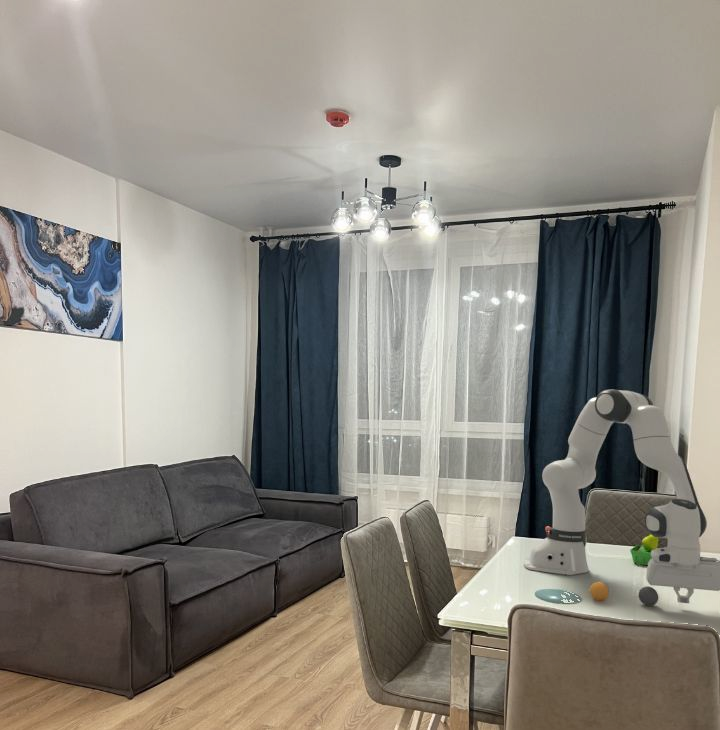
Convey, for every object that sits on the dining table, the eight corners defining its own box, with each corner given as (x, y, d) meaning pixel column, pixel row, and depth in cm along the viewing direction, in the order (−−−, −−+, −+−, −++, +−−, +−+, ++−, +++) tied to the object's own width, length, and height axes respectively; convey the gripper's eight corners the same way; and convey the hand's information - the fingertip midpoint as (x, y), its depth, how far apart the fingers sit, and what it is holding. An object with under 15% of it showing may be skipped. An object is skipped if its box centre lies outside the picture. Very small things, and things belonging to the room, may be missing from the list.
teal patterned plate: (535, 601, 201) (535, 600, 201) (534, 587, 215) (534, 587, 215) (583, 606, 198) (583, 605, 198) (580, 592, 211) (580, 591, 211)
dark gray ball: (640, 607, 198) (640, 588, 198) (637, 601, 203) (637, 583, 203) (659, 609, 196) (660, 590, 197) (656, 603, 202) (656, 585, 202)
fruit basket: (636, 557, 257) (637, 528, 258) (661, 561, 252) (661, 531, 253) (629, 563, 248) (629, 533, 249) (654, 568, 243) (655, 536, 243)
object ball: (590, 602, 201) (590, 584, 201) (588, 596, 207) (589, 579, 207) (609, 604, 200) (609, 585, 200) (607, 598, 205) (607, 580, 205)
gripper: (719, 555, 199) (718, 602, 198) (645, 550, 203) (645, 595, 203) (725, 561, 192) (725, 609, 192) (649, 555, 197) (648, 602, 197)
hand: (683, 602), depth 198 cm, fingers closed
